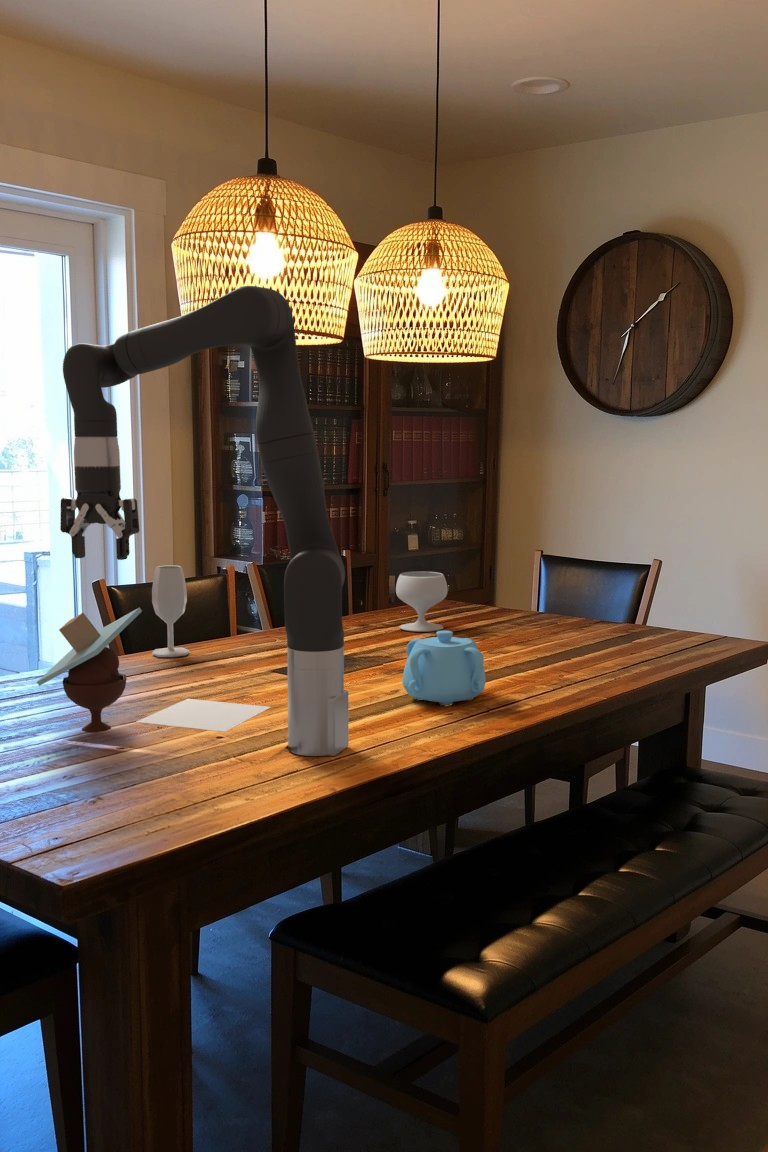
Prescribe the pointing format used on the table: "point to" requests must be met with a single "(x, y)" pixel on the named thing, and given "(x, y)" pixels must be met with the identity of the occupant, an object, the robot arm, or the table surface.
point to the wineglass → (169, 603)
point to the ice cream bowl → (95, 686)
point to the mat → (204, 715)
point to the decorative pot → (444, 669)
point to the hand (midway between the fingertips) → (100, 558)
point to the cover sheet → (91, 649)
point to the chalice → (421, 596)
